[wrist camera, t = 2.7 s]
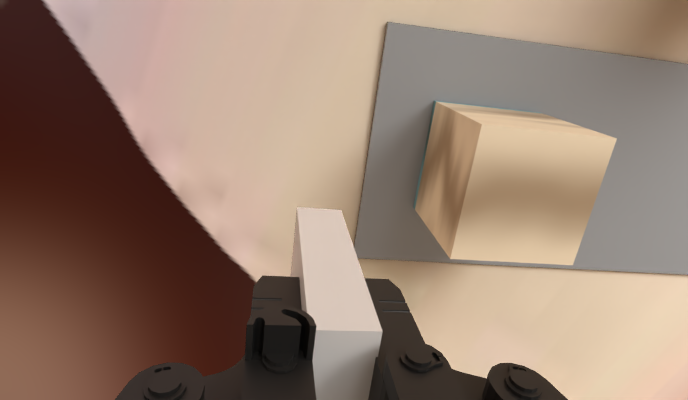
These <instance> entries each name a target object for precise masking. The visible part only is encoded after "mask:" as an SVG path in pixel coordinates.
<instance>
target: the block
mask: <svg viewBox="0 0 688 400" xmlns="http://www.w3.org/2000/svg"><path fill="white" fill-rule="evenodd" d="M616 140H617V138H614V137H611V136H608V135H605V134H602V133H599V132H596V131H593V130H590V129H587V128H584V127H581V126H578V125H575V124H572V123H569V122H566V121H563V120H560V119H557V118H555V117H552V116H549V115H546V114H543V113H540V112H531V111H522V110H513V109H504V108H496V107H487V106H478V105H469V104H460V103H451V102H442V101H434V103H433V108H432V113H431V118H430V124H429V129H428V134H427V139H426V144H425V149H424V155H423V160H422V165H421V170H420V175H419V180H418V185H417V191H416V196H415V201H414V206H413V208H414V209H415V210H416V212H417V213H418V215H419V216H420V217H421V219H422V220H423V222H424V223H425V224H426V226H427V227H428V229H429V230H430V231H431V233H432V234H433V236H434V237H435V238H436V240H437V241H438V243H439V244H440V245H441V247H442V248H443V250H444V251H445V252H446V254H447V255H448V257H449V258H450V259H460V260H479V261H499V262H518V263H537V264H557V265H573V263H574V260H575V258H576V255H577V252H578V249H579V246H580V243H581V240H582V237H583V235H584V232H585V229H586V226H587V223H588V220H589V217H590V215H591V212H592V209H593V206H594V203H595V200H596V197H597V194H598V192H599V189H600V186H601V183H602V180H603V177H604V174H605V172H606V169H607V166H608V163H609V160H610V157H611V154H612V151H613V149H614V146H615V143H616Z"/></svg>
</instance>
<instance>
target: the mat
mask: <svg viewBox="0 0 688 400" xmlns="http://www.w3.org/2000/svg"><path fill="white" fill-rule="evenodd" d="M434 101H442V102H451V103H460V104H469V105H478V106H487V107H496V108H504V109H513V110H522V111H531V112H540V113H543V114H546V115H549V116H552V117H555V118H557V119H560V120H563V121H566V122H569V123H572V124H575V125H578V126H581V127H584V128H587V129H590V130H593V131H596V132H599V133H602V134H605V135H608V136H611V137H614V138H617V140H616V143H615V146H614V149H613V151H612V154H611V157H610V160H609V163H608V166H607V169H606V172H605V174H604V177H603V180H602V183H601V186H600V189H599V192H598V194H597V197H596V200H595V203H594V206H593V209H592V212H591V215H590V217H589V220H588V223H587V226H586V229H585V232H584V235H583V237H582V240H581V243H580V246H579V249H578V252H577V255H576V258H575V260H574V263H573V265H557V264H537V263H518V262H499V261H479V260H460V259H450V258H449V257H448V255H447V254H446V252H445V251H444V250H443V248H442V247H441V245H440V244H439V243H438V241H437V240H436V238H435V237H434V236H433V234H432V233H431V231H430V230H429V229H428V227H427V226H426V224H425V223H424V222H423V220H422V219H421V217H420V216H419V215H418V213H417V212H416V210H415V209H414V208H413V206H414V201H415V196H416V191H417V185H418V180H419V175H420V170H421V165H422V160H423V155H424V149H425V144H426V139H427V134H428V129H429V124H430V118H431V113H432V108H433V103H434ZM354 249H355V252H356V255H357V258H365V259H385V260H405V261H425V262H445V263H465V264H485V265H504V266H524V267H544V268H564V269H584V270H604V271H624V272H644V273H664V274H684V275H688V64H684V63H677V62H670V61H663V60H655V59H648V58H641V57H634V56H627V55H620V54H613V53H606V52H599V51H591V50H584V49H577V48H570V47H563V46H556V45H549V44H542V43H535V42H527V41H520V40H513V39H506V38H499V37H492V36H485V35H478V34H471V33H463V32H456V31H449V30H442V29H435V28H428V27H421V26H414V25H407V24H399V23H392V22H387V27H386V34H385V41H384V47H383V54H382V61H381V68H380V74H379V81H378V88H377V95H376V101H375V108H374V115H373V122H372V128H371V135H370V142H369V149H368V156H367V162H366V169H365V176H364V183H363V189H362V196H361V203H360V210H359V216H358V223H357V230H356V237H355V243H354Z"/></svg>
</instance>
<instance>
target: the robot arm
mask: <svg viewBox="0 0 688 400" xmlns="http://www.w3.org/2000/svg"><path fill="white" fill-rule="evenodd" d="M115 400H568V399H567V398H566V397H564V396H563V395H562V394H561V393H560V392H559V391H558V390H557V389H556V388H555V387H554V386H553V385H552V384H551V383H550V382H548V381H547V380H546V379H545V378H544V377H542V376H541V375H540V374H538V373H537V372H535V371H533V370H531V369H529V368H527V367H525V366H521V365H517V364H513V363H500V364H497V365H495V366H493V367H492V368H491V370H490V372H489V373H488V377H487V379H486V378H482V377H478V376H474V375H470V374H466V373H462V372H459V371H456V370H453V369H451V367H450V365H449V363H448V361H447V360H446V358H445V357H444V356H443V354H442V353H441V352H439V351H438V350H436V349H435V348H434V347H432V346H430V345H427V344H425V342H424V340H423V338H422V336H421V334H420V331H419V329H418V327H417V325H416V323H415V321H414V319H413V316H412V314H411V313H410V310H409V308H408V306H407V303H405V299H404V297H403V295H402V293H401V290H400V289H399V288H398V287H397V286H395V285H394V284H393V283H392V282H391V281H390V280H389V279H367V278H364V275H363V272H362V270H361V267H360V264H359V261H358V258H357V255H356V252H355V249H354V246H353V243H352V240H351V237H350V234H349V231H348V228H347V225H346V223H345V220H344V217H343V214H342V211H341V210H336V209H321V208H306V207H297V213H296V224H295V235H294V245H293V256H292V267H291V277H282V276H262V277H261V278H260V279H259V280H258V282H257V283H256V284H255V285H254V289H253V299H252V307H251V317H250V319H249V321H248V323H247V331H246V349H245V355H244V356H243V358H242V359H241V360H240V361H239V362H238V363H237V364H236V365H235V366H233V367H231V368H229V369H228V370H226V371H223V372H220V373H217V374H213V375H209V376H205V377H202V374H201V373H200V372H198V371H197V370H196V369H195V368H194V367H192V366H189V365H186V364H183V363H164V364H159V365H155V366H152V367H150V368H148V369H146V370H144V371H141V372H139V373H138V374H137V375H136V376H135V377H134V378H133V379H132V380H130V381H129V382H128V384H127V385H126V386H125V388H124V389H123V390H122V391H121V393H120V394H119V395H118V396H117V398H116V399H115Z"/></svg>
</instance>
